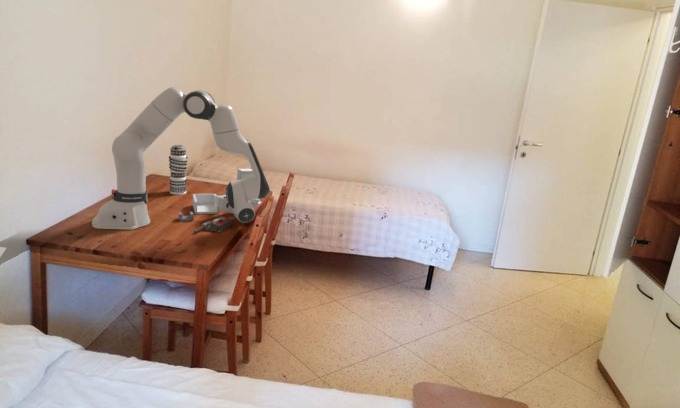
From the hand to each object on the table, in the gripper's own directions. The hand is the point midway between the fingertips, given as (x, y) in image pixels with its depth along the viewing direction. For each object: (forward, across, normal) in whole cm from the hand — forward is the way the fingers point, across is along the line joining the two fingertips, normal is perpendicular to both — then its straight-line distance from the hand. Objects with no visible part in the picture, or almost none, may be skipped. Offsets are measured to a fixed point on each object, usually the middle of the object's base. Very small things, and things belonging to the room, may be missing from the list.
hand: (235, 195), depth 227 cm
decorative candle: (+36, +24, +9) cm, 44 cm away
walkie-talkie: (-21, +12, +9) cm, 26 cm away
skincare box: (+28, -10, +9) cm, 31 cm away
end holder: (+6, +13, +8) cm, 17 cm away
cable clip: (-8, +23, +8) cm, 26 cm away
